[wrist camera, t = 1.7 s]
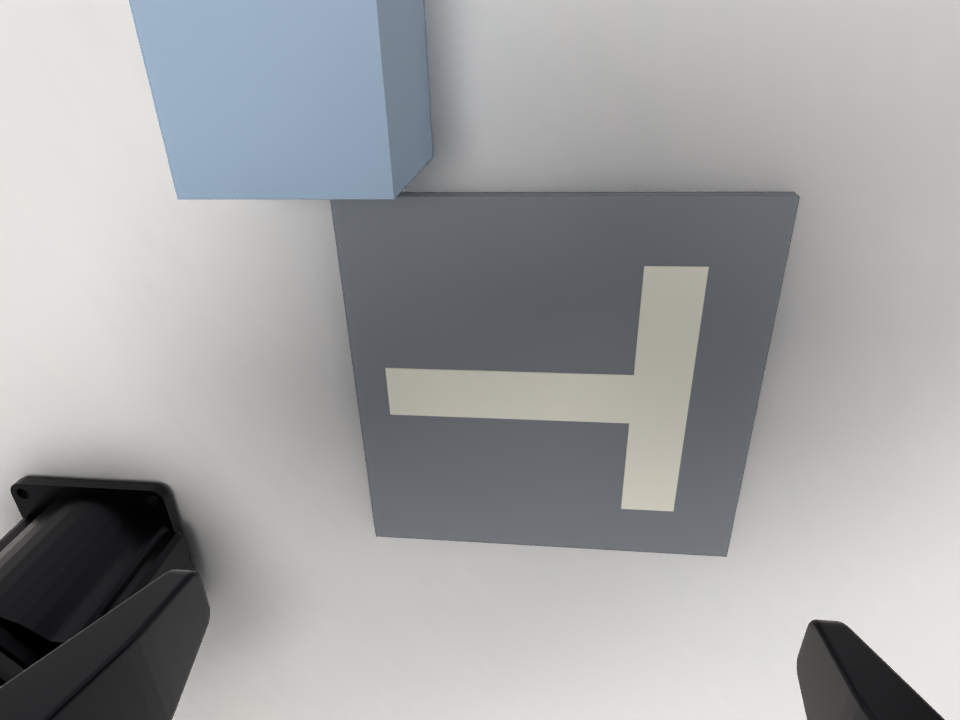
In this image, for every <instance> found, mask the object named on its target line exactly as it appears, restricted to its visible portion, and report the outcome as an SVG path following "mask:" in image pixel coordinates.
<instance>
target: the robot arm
mask: <svg viewBox="0 0 960 720" xmlns="http://www.w3.org/2000/svg"><path fill="white" fill-rule="evenodd" d="M10 490H11V494H12V496H13V498H14V500H15V502H16V504H17V507H18V509H19V511H20V513H21V515H22V517H23V519H22V520H21V521H20V522H19V523H18V524H17V525H16V526H15V527H14V528H13V529H12V530H10V531H9V532H8V533H7V534H6V535H5V536H4V537H3V538H2V539H1V540H0V720H172V718H173V715H174V713H175V711H176V708H177V706H178V703H179V700H180V698H181V695H182V692H183V690H184V687H185V684H186V682H187V679H188V676H189V674H190V671H191V668H192V666H193V663H194V660H195V658H196V655H197V653H198V650H199V647H200V645H201V642H202V639H203V637H204V634H205V631H206V629H207V626H208V623H209V619H210V606H209V603H208V599H207V596H206V593H205V589H204V586H203V582H202V579H201V576H200V575H199V574H198V573H197V572H196V571H194V568H193V565H192V562H191V559H190V556H189V553H188V550H187V547H186V543H185V540H184V537H183V534H182V531H181V528H180V525H179V522H178V518H177V515H176V512H175V509H174V506H173V503H172V500H171V497H170V494H169V492H168V491H167V490H166V489H165V488H164V487H162V486H160V485H157V484H143V483H123V482H103V481H84V480H64V479H45V478H21V479H20V480H18V481H17V482H16V483H15V484H14V485H12V486H11V489H10ZM156 498H157V499H156ZM797 675H798V680H799V684H800V689H801V693H802V698H803V703H804V707H805V712H806V716H807V720H945V719H944V718H943V717H942V716H941V715H939V714H938V713H937V712H936V711H935V710H934V709H933V708H932V707H931V706H930V705H929V704H928V703H927V702H926V701H925V700H924V699H923V698H922V697H921V696H920V695H919V694H918V693H917V692H916V691H915V690H914V689H913V688H911V687H910V686H909V685H908V684H907V683H906V682H905V681H904V680H903V679H902V678H901V677H900V676H899V675H898V674H897V673H896V672H895V671H894V670H893V669H892V668H891V667H890V666H889V665H888V664H887V663H886V662H884V661H883V660H882V659H881V658H880V657H879V656H878V655H877V654H876V653H875V652H874V651H873V650H872V649H871V648H870V647H869V646H868V645H867V644H866V643H865V642H864V641H863V640H862V639H861V638H860V637H859V636H858V635H856V634H855V633H854V632H853V631H852V630H851V629H850V628H849V627H848V626H847V625H845V624H844V623H842V622H838V621H828V620H812V621H811V622H810V623H809V625H808V627H807V630H806V633H805V636H804V639H803V642H802V645H801V648H800V651H799V654H798V658H797Z"/></svg>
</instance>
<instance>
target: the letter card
mask: <svg viewBox="0 0 960 720" xmlns="http://www.w3.org/2000/svg"><path fill="white" fill-rule="evenodd" d="M799 198H800V196H799V195H797V194H796V193H795V192H466V193H399V194H398V196H397V197H396V198H395V199H330V201H331V208H332V215H333V223H334V230H335V238H336V245H337V252H338V260H339V267H340V274H341V282H342V289H343V297H344V304H345V311H346V319H347V326H348V333H349V341H350V348H351V356H352V363H353V370H354V378H355V385H356V392H357V400H358V407H359V414H360V422H361V429H362V437H363V444H364V451H365V459H366V466H367V473H368V481H369V488H370V496H371V503H372V510H373V518H374V525H375V532H376V536H381V537H398V538H415V539H432V540H449V541H466V542H484V543H501V544H518V545H535V546H552V547H569V548H586V549H604V550H621V551H638V552H655V553H672V554H689V555H707V556H724V557H727V552H728V547H729V542H730V537H731V532H732V527H733V522H734V517H735V512H736V508H737V503H738V498H739V493H740V488H741V483H742V478H743V473H744V468H745V463H746V458H747V453H748V449H749V444H750V439H751V434H752V429H753V424H754V419H755V414H756V409H757V404H758V399H759V394H760V390H761V385H762V380H763V375H764V370H765V365H766V360H767V355H768V350H769V345H770V340H771V335H772V331H773V326H774V321H775V316H776V311H777V306H778V301H779V296H780V291H781V286H782V281H783V276H784V272H785V267H786V262H787V257H788V252H789V247H790V242H791V237H792V232H793V227H794V222H795V217H796V213H797V208H798V203H799Z"/></svg>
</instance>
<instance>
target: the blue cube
mask: <svg viewBox="0 0 960 720" xmlns="http://www.w3.org/2000/svg"><path fill="white" fill-rule="evenodd" d="M129 3H130V7H131V11H132V15H133V19H134V23H135V27H136V31H137V35H138V39H139V43H140V48H141V52H142V56H143V60H144V64H145V68H146V72H147V76H148V80H149V84H150V88H151V92H152V96H153V100H154V104H155V109H156V113H157V117H158V121H159V125H160V129H161V133H162V137H163V141H164V145H165V149H166V153H167V157H168V161H169V165H170V170H171V174H172V178H173V182H174V186H175V190H176V194H177V198H178V199H395V198H396V197H397V196H398V194H399V193H400V192H401V191H402V190H403V189H404V188H405V187H406V186H407V185H408V184H409V182H410V181H411V180H412V179H413V178H414V177H415V176H416V175H417V174H418V173H419V172H420V171H421V169H422V168H423V167H424V166H425V165H426V164H427V163H428V162H429V161H430V160H431V159H432V158H433V147H432V130H431V113H430V97H429V80H428V63H427V46H426V29H425V12H424V0H129Z"/></svg>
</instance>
